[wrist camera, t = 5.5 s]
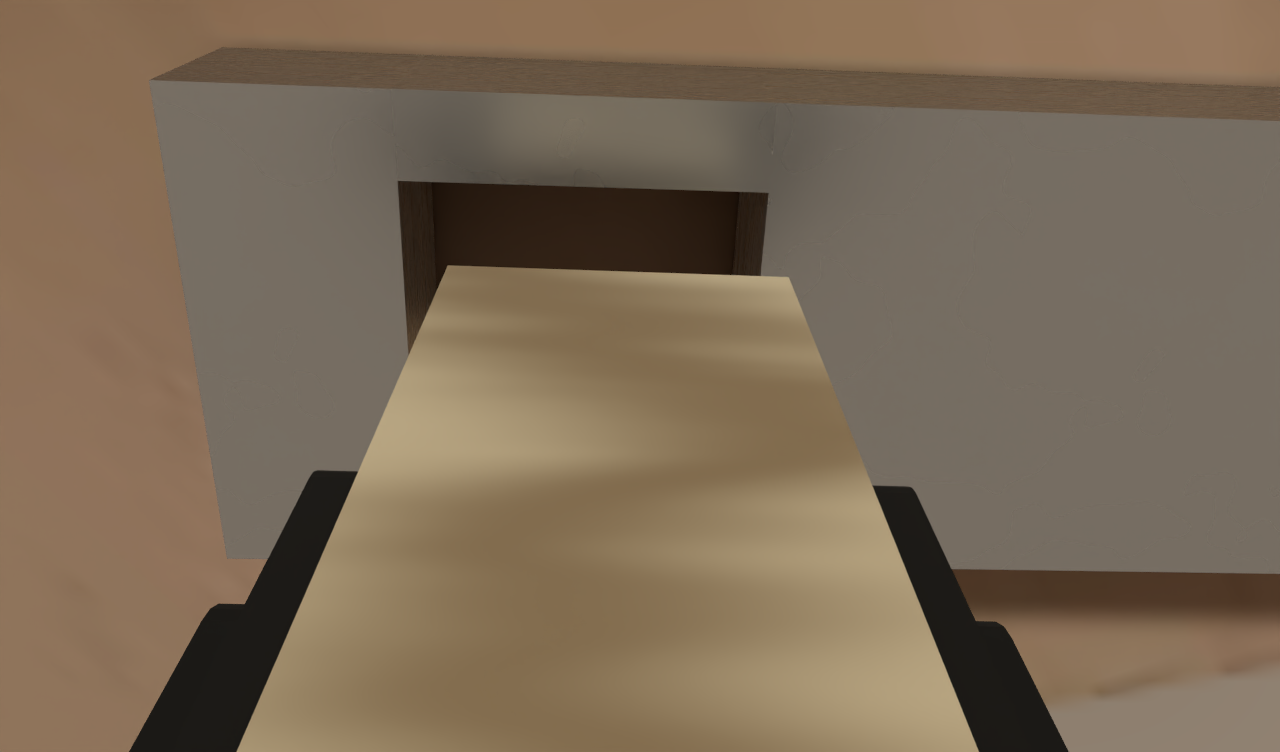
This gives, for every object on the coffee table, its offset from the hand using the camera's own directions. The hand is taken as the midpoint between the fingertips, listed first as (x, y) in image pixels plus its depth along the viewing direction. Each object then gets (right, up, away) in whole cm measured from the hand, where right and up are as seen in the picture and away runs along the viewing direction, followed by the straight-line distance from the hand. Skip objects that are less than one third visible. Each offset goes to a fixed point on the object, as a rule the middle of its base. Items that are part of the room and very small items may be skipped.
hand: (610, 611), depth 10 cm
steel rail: (+4, +4, +9) cm, 11 cm away
